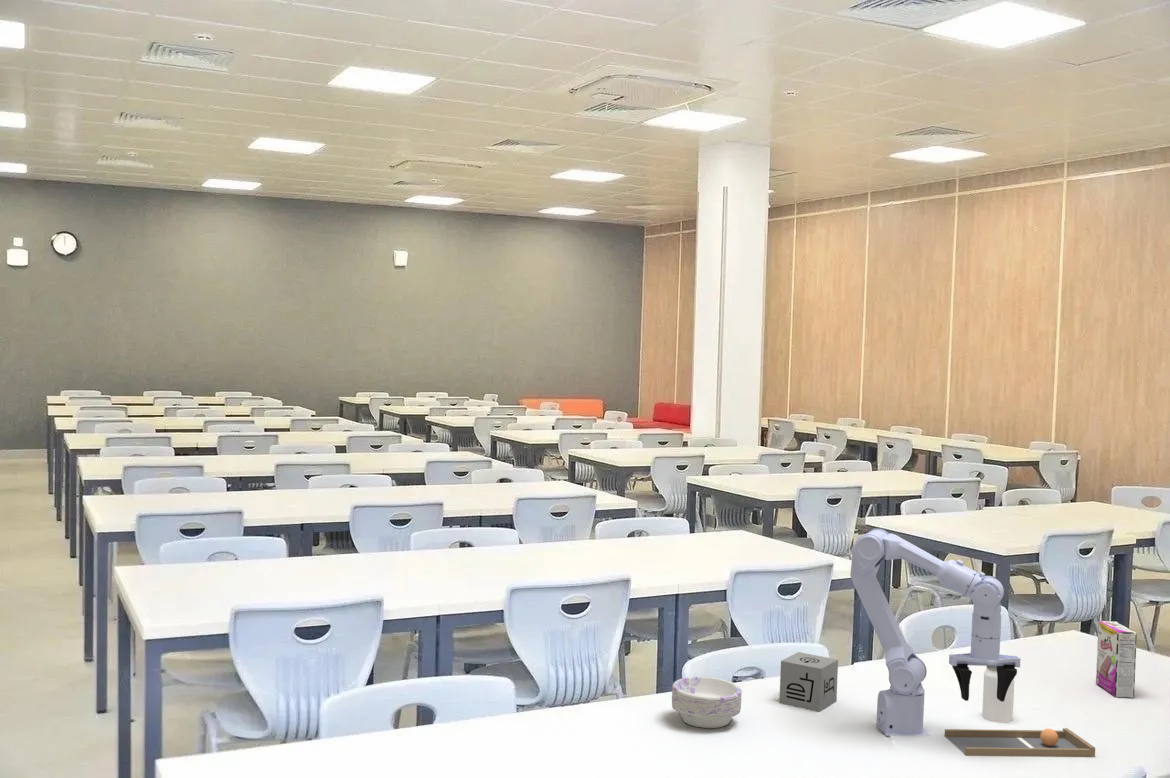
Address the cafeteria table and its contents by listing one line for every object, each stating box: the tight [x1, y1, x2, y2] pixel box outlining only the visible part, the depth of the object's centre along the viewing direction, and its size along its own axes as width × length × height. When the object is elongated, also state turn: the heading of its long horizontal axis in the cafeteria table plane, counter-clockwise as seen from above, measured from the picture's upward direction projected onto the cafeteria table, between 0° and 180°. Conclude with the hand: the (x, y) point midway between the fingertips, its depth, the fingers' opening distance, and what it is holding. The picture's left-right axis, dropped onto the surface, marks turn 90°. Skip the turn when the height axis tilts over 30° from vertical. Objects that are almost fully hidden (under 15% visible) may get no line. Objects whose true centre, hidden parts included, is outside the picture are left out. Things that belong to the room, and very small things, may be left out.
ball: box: [1040, 728, 1058, 746], centre depth 232 cm, size 4×4×4 cm
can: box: [981, 666, 1015, 724], centre depth 250 cm, size 6×6×12 cm
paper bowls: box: [671, 676, 743, 729], centre depth 243 cm, size 15×15×8 cm
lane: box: [944, 727, 1096, 758], centre depth 232 cm, size 27×12×2 cm, turn 93°
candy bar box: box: [1095, 620, 1138, 699], centre depth 275 cm, size 11×5×16 cm, turn 179°
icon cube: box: [778, 651, 839, 713], centre depth 259 cm, size 10×10×10 cm
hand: (982, 699), depth 233 cm, fingers open, 7 cm apart
